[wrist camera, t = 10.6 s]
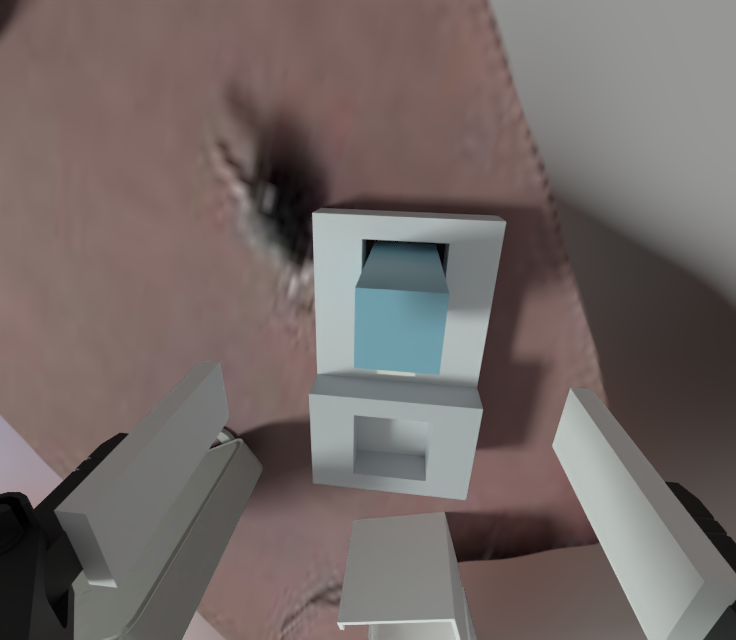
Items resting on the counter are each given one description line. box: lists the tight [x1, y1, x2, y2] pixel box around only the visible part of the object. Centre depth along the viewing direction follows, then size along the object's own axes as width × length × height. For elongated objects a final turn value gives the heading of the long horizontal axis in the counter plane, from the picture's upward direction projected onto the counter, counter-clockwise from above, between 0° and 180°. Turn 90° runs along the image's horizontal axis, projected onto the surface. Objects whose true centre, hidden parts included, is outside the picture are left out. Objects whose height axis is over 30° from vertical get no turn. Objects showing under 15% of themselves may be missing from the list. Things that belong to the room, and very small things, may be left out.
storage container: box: [337, 512, 477, 640], centre depth 43 cm, size 25×11×11 cm, turn 15°
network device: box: [72, 428, 263, 640], centre depth 35 cm, size 26×9×20 cm, turn 118°
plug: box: [354, 241, 450, 377], centre depth 26 cm, size 6×5×12 cm
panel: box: [309, 208, 506, 500], centre depth 32 cm, size 24×14×6 cm, turn 178°
